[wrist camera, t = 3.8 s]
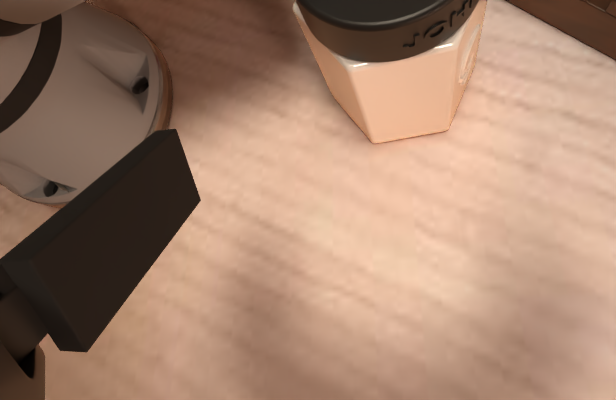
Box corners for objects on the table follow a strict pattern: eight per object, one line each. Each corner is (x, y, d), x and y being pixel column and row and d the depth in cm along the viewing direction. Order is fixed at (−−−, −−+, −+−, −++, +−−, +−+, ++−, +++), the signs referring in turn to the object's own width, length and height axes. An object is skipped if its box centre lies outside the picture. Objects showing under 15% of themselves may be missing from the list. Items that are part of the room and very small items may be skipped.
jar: (437, 166, 26) (444, 62, 15) (317, 125, 29) (246, 12, 18) (490, 36, 27) (534, -153, 16) (369, 9, 30) (334, -170, 19)
